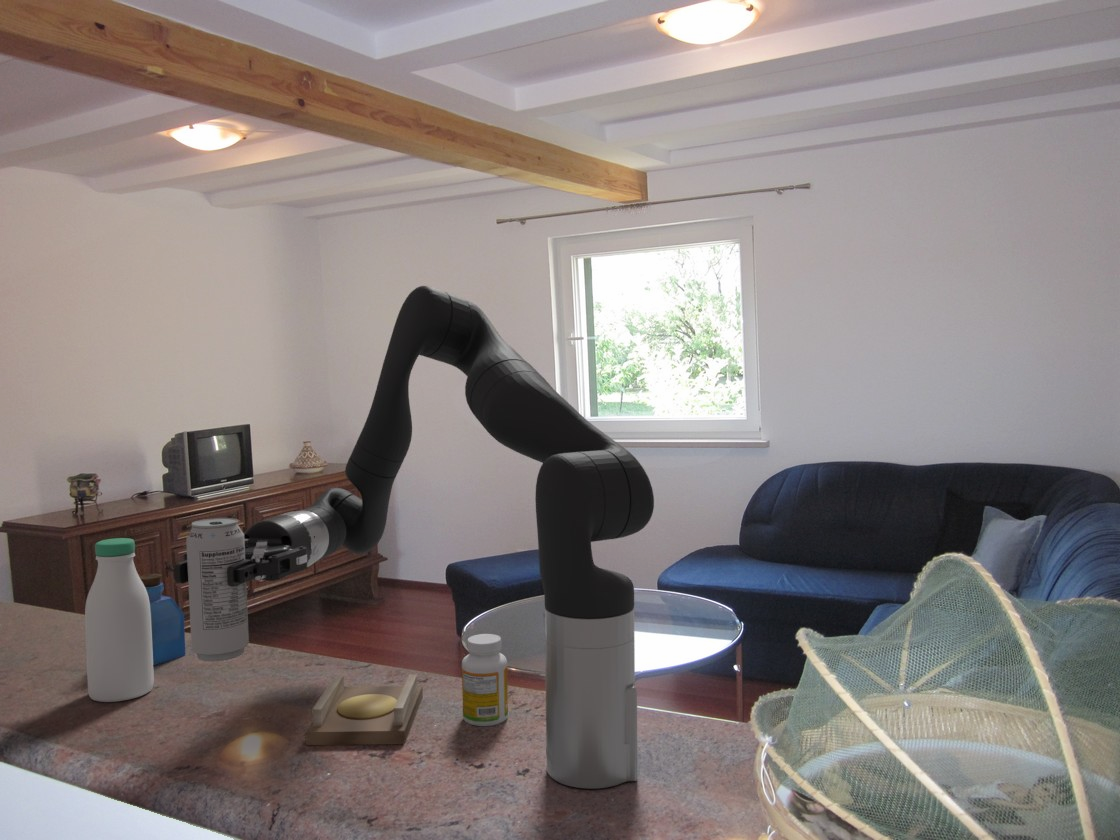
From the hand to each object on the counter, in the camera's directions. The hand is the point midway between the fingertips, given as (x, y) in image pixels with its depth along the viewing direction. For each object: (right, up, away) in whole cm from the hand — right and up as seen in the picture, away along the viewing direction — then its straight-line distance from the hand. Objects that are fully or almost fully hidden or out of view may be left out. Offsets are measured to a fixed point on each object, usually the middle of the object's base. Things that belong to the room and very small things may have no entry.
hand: (204, 575), depth 99 cm
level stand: (+16, -19, +10) cm, 26 cm away
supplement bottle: (+30, -19, +10) cm, 37 cm away
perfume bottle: (-20, -18, +33) cm, 43 cm away
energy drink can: (+1, -10, +3) cm, 10 cm away
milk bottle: (-18, -19, +19) cm, 32 cm away
